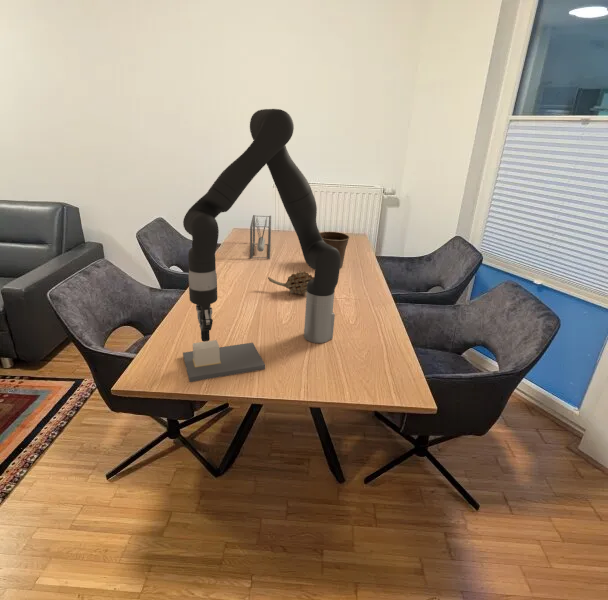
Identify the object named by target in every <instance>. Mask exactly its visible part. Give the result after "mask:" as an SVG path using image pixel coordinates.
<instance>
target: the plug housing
mask: <svg viewBox="0 0 608 600" xmlns="http://www.w3.org/2000/svg"><path fill="white" fill-rule="evenodd" d="M219 347H220V345H219V342H218V340H217V339H213V340H209V341H205V342H203V341H200V342H199V341H198V342H192V351H193V357H194V362H195V366H202V365H208V364H214V363H220V352H219Z"/></svg>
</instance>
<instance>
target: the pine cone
mask: <svg viewBox="0 0 608 600" xmlns="http://www.w3.org/2000/svg"><path fill="white" fill-rule="evenodd" d="M312 279H314V276H312V274H310V273H309V272H306V271H302V270H301V271H299V272H296V273H292V274H291V275H289V276H288V277H287V281H286V282H280V281H277V280H275V279H273V278H272V277H269V276H267V280H268V281H269V282H271V283H273V284H275V285H278V286H281V287H285V288H286V289H288V290H289V293H290V294H299V295H300V294H303V295H304V294H306V293H307V283H308V282H309V281H310V280H312Z"/></svg>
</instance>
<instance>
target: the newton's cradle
mask: <svg viewBox="0 0 608 600" xmlns="http://www.w3.org/2000/svg"><path fill="white" fill-rule="evenodd" d="M260 217H261V218H262V217H263V218H264V217H265V220H264V225H263V223H260V222H259V218H260ZM267 223H268V224H267ZM262 225H263V226H262ZM267 225H268V226H267ZM266 227H267V228H268V230H267V231H268V233H267V235H268V236H267V240H268V241H267V243H265V240H266V239H265V238H264V235H265V234H264V233H265V229H266ZM260 228H263V230H262V235H261V229H260ZM249 231H250V232H249V238H250V239H249V249H250V250H249V252H250V253H249V255H250V256H249V257H250V259H253V258H254V259H255V258H260V259H268V260H270V259H271V248H272V247H271V245H272V244H271V241H272V215H255V214H253V215H252V218H251V222H250V228H249ZM256 231H257V236H258V241H257V248H256V249H257V251H258V252H263V251H265V246H267V256H254V250H255V245H256Z"/></svg>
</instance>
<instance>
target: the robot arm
mask: <svg viewBox="0 0 608 600" xmlns="http://www.w3.org/2000/svg"><path fill="white" fill-rule="evenodd" d="M294 126H295V125H294V121H293V119H292V117H291V115H290V114H289V113H288V112H287V111H285V110H283V109H280V108H279V109H278V108H264V109H263V108H262V109H259V110H256V111H255V112H254V113H253V114H252V116H251V117H250V121H249V132H250V135H251V138H252V140H253V141H252V142H251V143H250V145H249V146H248V147H247V148H246V149H245V150H244V151H243V153H242V154H241V155H239V156H238V157H237V158H236V159H235V160H234V161H232V163H230V164H229V165H228V166H227V167H226V168H225V169H224V170H223V171H222V172H221V173H220V174H219V175H218V177H217V178H216V180H215V181H214V182H213V184H211V186H210V187H209V189H208V190H207V192H206V193H205V194H204V195H203V196H202V197H200V198H199V199H198V200H196V202H195V203H194V204H193V205H192V206H191V207H190V208H189V209H188V210H187V212H186V213H185V215H184V216H183V217H184V218H183V221H182V223H183V229H184V230H185V232H186V233H187V234H189V235H190V236H191V237H192V238H191V239H192V246H191V248H190V249H189V250H188V255H187V256H188V257H187V259H188V276H187V277H188V290H189V291H188V292H189V301H190V303H192V304H195V310H196V312H197V313H196V314H197V321H198V324H199V328H200V339H201V342H206V341H211V339H210V337H211V336H210V331H212V326H213V322H214V321H213V320H214V319H213V318H212V317H213V316H212V315H213V307H212V306H211V305H212V304H214V303H216V302H217V301H218V275H217V268H216V266H217V265H216V252H217V251H216V250H217V248H218V243H219V242H218V240H219V236H220V235H219V231H220V230H219V226H218V221H217V220H216V218H217V217H218V216H219V215H220V214H221V213H226V212H228V211H230V209H231V208H232V207H233V205H234V204H235V203H236V202H237V200H238V199H239V197H240V196H241V195H242V194H243V192H244V191H245V190H246V188H247V186H249V184H250V182H252V180H253V179H254V178H255V177H256V175H258V174H259V172H260V171H261V170H262V169H263V168H264V167H265V166H267V168H268V170H269V172H270V175H271V178H272V180H273V182H274V185H275V187H276V190H277V192H278V195H279V198H280V200H281V203H282V205H283V207H284V209H285V212H286V213H287V216H288V219H289V220H290V223H291V225H292V227H293V229H294V231H295V233H296V235H297V238H298V239H297V240H298V242H299V245H300V248H301V252H302V256H303V258H304V261H305V263H306V264H307V265H308V267H309V268H311V269H312V270H314V276H313V277H314V279H312V280H310V281H309V282H308V283H307V292H306V293H305V294H306V295H305V297H306V298H305V299H306V300H305V312H304V314H305V315H304V329H303V338H304V339H305V340H307V341H308V342H310V343H313V344H322V343H327V342H329V341H330V340H333V338H334V326H335V319H336V318H335V317H336V313H334V302H335V301H334V300H335V290H336V288H337V285H338V283H339V277H340V269H341V268H340V263H341V257H340V253H339V251H338V250H337V249H336V248H334V247H333V246H331V245H328V244H326V243H325V242H324V240H323V239H322V237H321V235H320V233H321V232H320V230H319V228H318V224H317V214H318V213H317V211H318V207H317V202H316V198H315V195H314V194H313V193H314V192H313V190H312V187H311V185H310V183H309V181H308V179H307V178H306V176H305V175H304V174H303V172H302V171H301V170H300V168H299V167H298V166H297V165H296V163H295V161H294V160H293V159H292V157H291V155H290V154H289V151H288V149H287V146H286V145H287V144H288V143H289V141H290V140H291V139H292V137H293V134H294V129H295V128H294Z"/></svg>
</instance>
